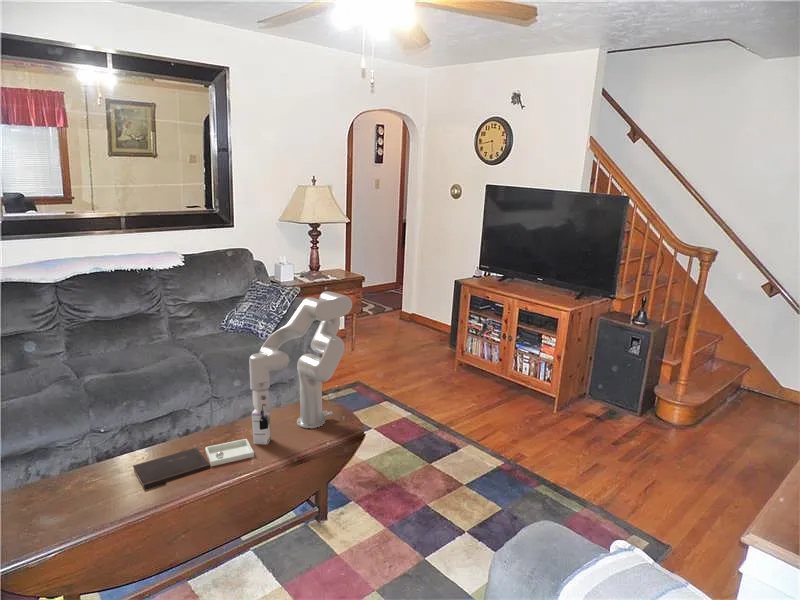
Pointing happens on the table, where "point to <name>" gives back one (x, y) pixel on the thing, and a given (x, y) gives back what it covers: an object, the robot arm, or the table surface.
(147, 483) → the hardcover book
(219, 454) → the mixing ball
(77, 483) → the table surface
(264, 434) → the syrup box
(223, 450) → the tray
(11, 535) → the table surface
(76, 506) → the table surface
